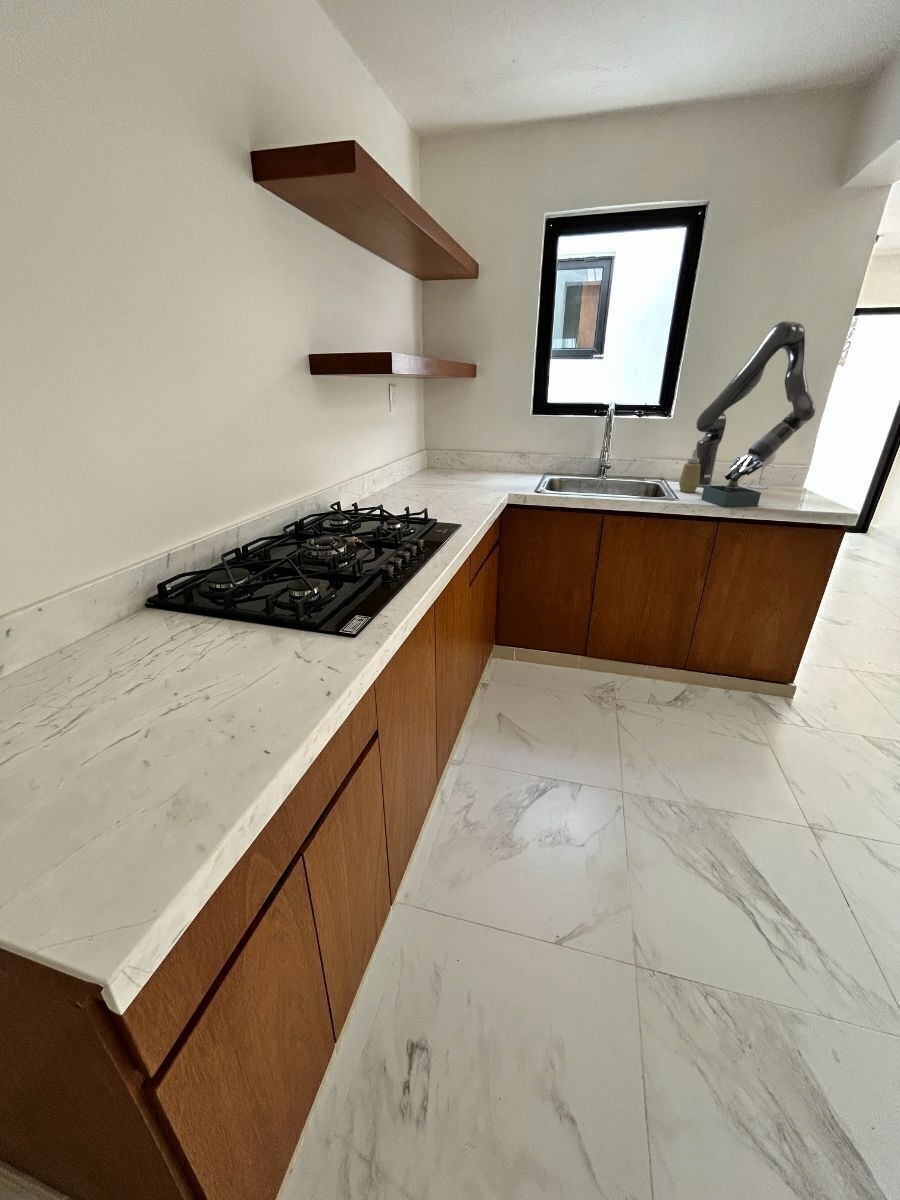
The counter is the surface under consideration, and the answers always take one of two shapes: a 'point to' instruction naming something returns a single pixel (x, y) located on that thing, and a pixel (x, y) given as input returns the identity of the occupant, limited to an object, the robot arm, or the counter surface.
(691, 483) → the squeeze bottle
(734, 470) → the salt shaker
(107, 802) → the counter surface
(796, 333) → the robot arm
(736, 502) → the bin
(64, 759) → the counter surface
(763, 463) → the wineglass
